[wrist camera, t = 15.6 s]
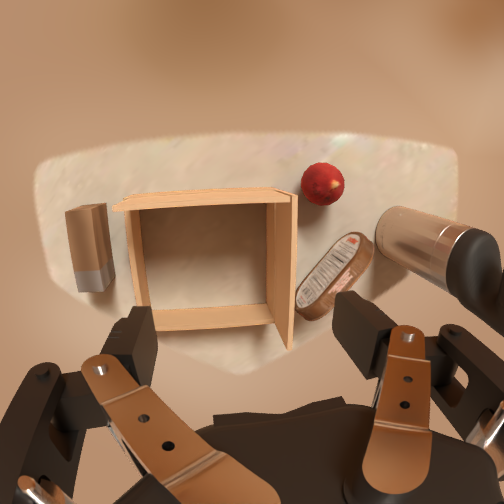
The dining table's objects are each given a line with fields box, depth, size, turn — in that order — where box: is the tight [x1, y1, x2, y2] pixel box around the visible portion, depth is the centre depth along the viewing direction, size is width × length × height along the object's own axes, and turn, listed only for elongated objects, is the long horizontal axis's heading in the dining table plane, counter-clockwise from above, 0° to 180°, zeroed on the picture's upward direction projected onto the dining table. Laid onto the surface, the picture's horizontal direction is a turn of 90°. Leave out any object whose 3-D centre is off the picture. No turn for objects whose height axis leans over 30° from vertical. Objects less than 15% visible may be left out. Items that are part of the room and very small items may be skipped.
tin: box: [294, 232, 374, 321], centre depth 41 cm, size 15×3×8 cm, turn 140°
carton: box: [112, 187, 298, 351], centre depth 36 cm, size 20×19×12 cm
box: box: [65, 203, 116, 292], centre depth 36 cm, size 4×11×6 cm, turn 1°
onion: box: [301, 163, 344, 206], centre depth 38 cm, size 6×6×8 cm
